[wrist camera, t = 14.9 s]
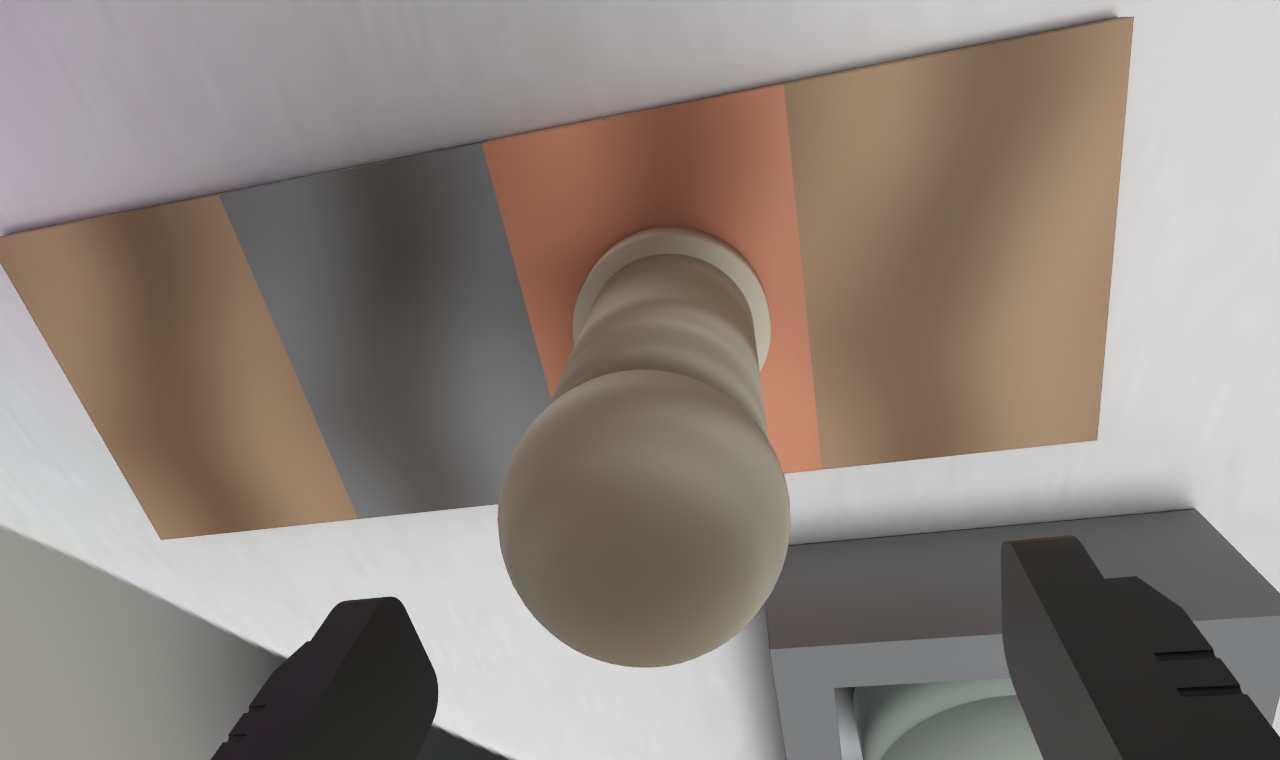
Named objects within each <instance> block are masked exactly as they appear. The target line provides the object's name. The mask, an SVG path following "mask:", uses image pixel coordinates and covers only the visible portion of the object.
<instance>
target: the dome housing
mask: <svg viewBox="0 0 1280 760" xmlns="http://www.w3.org/2000/svg"><path fill="white" fill-rule="evenodd" d="M1064 535H1073V536H1075V537H1076V538H1077V539H1078V540H1079V541H1080V542H1081V544H1082V545H1083V546H1084V548H1085V550H1086V551H1087V553H1088V554H1089V556H1090V557H1091V559H1092V560H1093V562H1094V563H1095V565H1096V566H1097V568H1098V569H1099V571H1100V573H1101V574H1102V576H1103V577H1104V579H1106V578H1119V577H1131V576H1137V577H1138V578H1140V579H1141V580H1143V581H1144V582H1146V583H1147V584H1148V585H1150V586H1151V587H1153V588H1154V589H1156V590H1157V591H1159V592H1160V593H1161V594H1163V595H1164V596H1166V597H1167V598H1169V599H1170V600H1171V601H1173V602H1174V603H1176V604H1177V605H1179V606H1180V607H1182V608H1183V609H1184V611H1185V612H1186V613H1187V615H1188V616H1189V617H1190V619H1191V620H1192V621H1193V623H1194V624H1195V625H1196V627H1197V628H1198V629H1199V631H1200V632H1201V633H1202V635H1203V636H1204V637H1205V639H1206V640H1207V641H1208V643H1209V644H1210V645H1211V647H1212V648H1213V649H1214V654H1215V656H1216V658H1220V659H1221V660H1222V661H1223V663H1224V664H1225V665H1226V667H1227V668H1228V669H1229V671H1230V672H1231V673H1232V674H1233V676H1234V677H1235V678H1236V680H1237V681H1238V682H1239V684H1240V688H1241V691H1242V693H1243V694H1248V696H1249V697H1250V698H1251V700H1252V701H1253V702H1254V704H1255V705H1256V706H1257V708H1258V709H1259V710H1260V712H1261V713H1262V714H1263V716H1264V717H1265V718H1266V720H1267V721H1268V722H1269V724H1270V725H1271V726H1272V724H1273V720H1274V716H1275V712H1276V708H1277V704H1278V701H1279V697H1280V593H1279V592H1278V591H1277V590H1276V589H1275V588H1274V587H1273V586H1272V585H1271V584H1270V583H1269V582H1268V581H1267V580H1266V579H1265V578H1264V577H1263V576H1262V575H1261V574H1260V573H1259V572H1258V571H1257V570H1256V569H1255V568H1254V567H1253V566H1252V565H1251V564H1250V563H1249V562H1248V561H1247V560H1246V559H1245V558H1244V557H1243V556H1242V555H1241V554H1240V553H1239V552H1238V551H1237V550H1236V549H1235V548H1234V547H1233V546H1232V545H1231V544H1230V543H1229V542H1228V541H1227V540H1226V539H1225V538H1224V537H1223V536H1222V535H1221V534H1220V533H1219V532H1218V531H1217V530H1216V529H1215V528H1214V527H1213V526H1212V525H1211V524H1210V523H1209V522H1208V521H1207V520H1206V519H1205V518H1204V517H1203V516H1202V515H1201V514H1200V513H1199V512H1198V511H1197V510H1196V509H1193V510H1182V511H1171V512H1160V513H1149V514H1138V515H1127V516H1116V517H1104V518H1093V519H1082V520H1071V521H1060V522H1049V523H1038V524H1027V525H1016V526H1004V527H993V528H982V529H971V530H960V531H949V532H938V533H927V534H916V535H904V536H893V537H882V538H871V539H860V540H849V541H838V542H827V543H815V544H804V545H793V546H788V548H787V554H786V557H785V561H784V564H783V567H782V570H781V573H780V575H779V577H778V580H777V582H776V584H775V586H774V588H773V590H772V592H771V594H770V596H769V597H768V599H767V600H766V601H765V602H766V614H767V626H768V637H769V649H770V656H771V662H772V669H773V675H774V681H775V688H776V694H777V701H778V707H779V714H780V720H781V727H782V733H783V740H784V746H785V753H786V759H787V760H842V757H841V747H840V738H839V729H838V720H837V710H836V701H835V692H834V688H842V687H860V686H877V685H895V684H912V683H930V682H947V681H965V680H983V679H1000V678H1011V677H1010V674H1009V670H1008V666H1007V662H1006V658H1005V653H1004V646H1003V638H1002V598H1001V547H1002V543H1003V542H1004V541H1010V540H1021V539H1031V538H1042V537H1053V536H1064Z"/></svg>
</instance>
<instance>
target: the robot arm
mask: <svg viewBox="0 0 1280 760" xmlns="http://www.w3.org/2000/svg"><path fill="white" fill-rule="evenodd" d="M1001 598H1002V638H1003V646H1004V653H1005V658H1006V662H1007V666H1008V670H1009V674H1010V677H1011V681H1012V684H1013V687H1014V689H1015V692H1016V694H1017V697H1018V699H1019V702H1020V704H1021V706H1022V709H1023V711H1024V714H1025V716H1026V719H1027V721H1028V724H1029V726H1030V728H1031V731H1032V733H1033V736H1034V738H1035V741H1036V743H1037V745H1038V748H1039V750H1040V753H1041V755H1042V758H1043V760H1280V737H1279V736H1278V734H1277V733H1276V732H1275V730H1274V729H1273V728H1272V726H1271V725H1270V724H1269V722H1268V721H1267V720H1266V718H1265V717H1264V716H1263V714H1262V713H1261V712H1260V710H1259V709H1258V708H1257V706H1256V705H1255V704H1254V702H1253V701H1252V700H1251V698H1250V697H1249V696H1248V694H1243V693H1242V691H1241V688H1240V684H1239V682H1238V681H1237V680H1236V678H1235V677H1234V676H1233V674H1232V673H1231V672H1230V671H1229V669H1228V668H1227V667H1226V665H1225V664H1224V663H1223V661H1222V660H1221V659H1220V658H1216V656H1215V654H1214V649H1213V648H1212V647H1211V645H1210V644H1209V643H1208V641H1207V640H1206V639H1205V637H1204V636H1203V635H1202V633H1201V632H1200V631H1199V629H1198V628H1197V627H1196V625H1195V624H1194V623H1193V621H1192V620H1191V619H1190V617H1189V616H1188V615H1187V613H1186V612H1185V611H1184V609H1183V608H1182V607H1180V606H1179V605H1177V604H1176V603H1174V602H1173V601H1171V600H1170V599H1169V598H1167V597H1166V596H1164V595H1163V594H1161V593H1160V592H1159V591H1157V590H1156V589H1154V588H1153V587H1151V586H1150V585H1148V584H1147V583H1146V582H1144V581H1143V580H1141V579H1140V578H1138V577H1137V576H1131V577H1119V578H1106V579H1104V577H1103V576H1102V574H1101V573H1100V571H1099V569H1098V568H1097V566H1096V565H1095V563H1094V562H1093V560H1092V559H1091V557H1090V556H1089V554H1088V553H1087V551H1086V550H1085V548H1084V546H1083V545H1082V544H1081V542H1080V541H1079V540H1078V539H1077V538H1076V537H1075V536H1073V535H1064V536H1053V537H1042V538H1031V539H1021V540H1010V541H1004V542H1003V543H1002V547H1001ZM437 703H438V683H437V677H436V674H435V671H434V669H433V667H432V664H431V662H430V660H429V658H428V656H427V654H426V652H425V650H424V647H423V645H422V643H421V641H420V639H419V637H418V635H417V633H416V630H415V628H414V626H413V624H412V622H411V620H410V618H409V616H408V613H407V611H406V609H405V607H404V605H403V604H402V603H401V601H400V600H398V599H397V598H395V597H381V598H371V599H360V600H349V601H343V602H341V603H339V604H337V605H336V606H335V607H334V608H333V609H332V611H331V612H330V613H329V615H328V616H327V618H326V619H325V621H324V622H323V624H322V625H321V627H320V628H319V630H318V631H317V632H316V634H315V635H314V637H313V638H312V640H311V641H308V642H306V643H305V644H304V645H302V646H301V647H300V648H299V649H298V650H297V651H296V652H295V653H294V654H292V655H291V656H290V657H289V658H288V659H287V660H286V661H285V662H284V663H283V664H281V665H280V666H279V667H278V668H277V669H276V670H275V671H274V672H273V673H272V674H271V676H270V677H269V679H268V680H267V681H266V683H265V684H264V686H263V687H262V688H261V690H260V691H259V693H258V694H257V695H256V697H255V698H254V700H253V701H252V702H251V704H250V705H249V712H248V713H244V714H243V715H242V716H241V718H240V719H239V721H238V722H237V723H236V725H235V726H234V728H233V729H232V731H231V732H230V733H229V740H228V742H223V743H222V745H221V746H220V747H219V749H218V750H217V752H216V753H215V754H214V756H213V757H212V759H211V760H416V759H417V756H418V754H419V752H420V750H421V747H422V745H423V743H424V740H425V738H426V736H427V733H428V731H429V729H430V727H431V724H432V722H433V719H434V717H435V713H436V709H437Z"/></svg>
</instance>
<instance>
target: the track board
mask: <svg viewBox="0 0 1280 760" xmlns="http://www.w3.org/2000/svg"><path fill="white" fill-rule="evenodd" d="M1133 21H1134V17H1118V18H1113V19H1107V20H1102V21H1097V22H1092V23H1087V24H1082V25H1077V26H1072V27H1066V28H1061V29H1056V30H1051V31H1046V32H1041V33H1036V34H1031V35H1026V36H1020V37H1015V38H1010V39H1005V40H1000V41H995V42H990V43H985V44H979V45H974V46H969V47H964V48H959V49H954V50H949V51H944V52H939V53H933V54H928V55H923V56H918V57H913V58H908V59H903V60H898V61H892V62H887V63H882V64H877V65H872V66H867V67H862V68H857V69H852V70H846V71H841V72H836V73H831V74H826V75H821V76H816V77H811V78H805V79H800V80H795V81H790V82H785V83H780V84H775V85H770V86H765V87H759V88H754V89H749V90H744V91H739V92H734V93H729V94H724V95H718V96H713V97H708V98H703V99H698V100H693V101H688V102H683V103H678V104H672V105H667V106H662V107H657V108H652V109H647V110H642V111H637V112H631V113H626V114H621V115H616V116H611V117H606V118H601V119H596V120H590V121H585V122H580V123H575V124H570V125H565V126H560V127H555V128H550V129H544V130H539V131H534V132H529V133H524V134H519V135H514V136H509V137H503V138H498V139H493V140H488V141H483V142H478V143H473V144H468V145H463V146H457V147H452V148H447V149H442V150H437V151H432V152H427V153H422V154H416V155H411V156H406V157H401V158H396V159H391V160H386V161H381V162H376V163H370V164H365V165H360V166H355V167H350V168H345V169H340V170H335V171H329V172H324V173H319V174H314V175H309V176H304V177H299V178H294V179H289V180H283V181H278V182H273V183H268V184H263V185H258V186H253V187H248V188H242V189H237V190H232V191H227V192H222V193H217V194H212V195H207V196H202V197H196V198H191V199H186V200H181V201H176V202H171V203H166V204H161V205H155V206H150V207H145V208H140V209H135V210H130V211H125V212H120V213H115V214H109V215H104V216H99V217H94V218H89V219H84V220H79V221H74V222H68V223H63V224H58V225H53V226H48V227H43V228H38V229H33V230H28V231H22V232H17V233H12V234H7V235H4V236H0V263H1V265H2V266H3V268H4V270H5V272H6V273H7V275H8V277H9V279H10V280H11V282H12V284H13V285H14V287H15V289H16V291H17V292H18V294H19V296H20V297H21V299H22V301H23V303H24V304H25V306H26V308H27V310H28V311H29V313H30V315H31V316H32V318H33V320H34V322H35V323H36V325H37V327H38V329H39V330H40V332H41V334H42V335H43V337H44V339H45V341H46V342H47V344H48V346H49V347H50V349H51V351H52V353H53V354H54V356H55V358H56V360H57V361H58V363H59V365H60V366H61V368H62V370H63V372H64V373H65V375H66V377H67V379H68V380H69V382H70V384H71V385H72V387H73V389H74V391H75V392H76V394H77V396H78V398H79V399H80V401H81V403H82V404H83V406H84V408H85V410H86V411H87V413H88V415H89V416H90V418H91V420H92V422H93V423H94V425H95V427H96V429H97V430H98V432H99V434H100V435H101V437H102V439H103V441H104V442H105V444H106V446H107V448H108V449H109V451H110V453H111V454H112V456H113V458H114V460H115V461H116V463H117V465H118V467H119V468H120V470H121V472H122V473H123V475H124V477H125V479H126V480H127V482H128V484H129V485H130V487H131V489H132V491H133V492H134V494H135V496H136V498H137V499H138V501H139V503H140V504H141V506H142V508H143V510H144V511H145V513H146V515H147V517H148V518H149V520H150V522H151V523H152V525H153V527H154V529H155V530H156V532H157V534H158V536H159V537H160V539H161V540H165V539H174V538H184V537H193V536H203V535H212V534H221V533H231V532H240V531H250V530H259V529H268V528H278V527H287V526H296V525H306V524H315V523H325V522H334V521H343V520H353V519H362V518H372V517H381V516H390V515H400V514H409V513H419V512H428V511H437V510H447V509H456V508H465V507H475V506H484V505H494V504H499V496H500V490H501V486H502V481H503V477H504V474H505V471H506V468H507V466H508V463H509V461H510V458H511V456H512V453H513V451H514V449H515V448H516V446H517V444H518V443H519V441H520V439H521V438H522V436H523V435H524V433H525V431H526V430H527V428H528V427H529V426H530V425H531V424H532V422H533V421H534V420H535V419H536V418H537V416H538V415H539V414H540V413H542V412H543V411H544V410H545V409H546V408H547V407H548V405H549V403H550V400H551V398H552V396H553V394H554V391H555V389H556V387H557V385H558V382H559V380H560V378H561V376H562V373H563V371H564V369H565V367H566V364H567V362H568V360H569V358H570V355H571V353H572V351H573V349H574V346H575V345H574V339H573V315H574V309H575V305H576V301H577V299H578V296H579V294H580V291H581V289H582V287H583V285H584V283H585V281H586V279H587V277H588V275H589V274H590V272H591V270H592V268H593V267H594V265H595V264H596V263H597V261H598V260H599V259H600V258H601V256H602V255H603V254H604V253H605V252H607V251H608V250H609V249H610V248H611V247H612V246H614V245H615V244H616V243H618V242H619V241H620V240H622V239H624V238H626V237H628V236H630V235H632V234H634V233H637V232H640V231H642V230H646V229H650V228H654V227H662V226H684V227H690V228H696V229H699V230H702V231H706V232H708V233H711V234H713V235H715V236H717V237H719V238H721V239H723V240H724V241H726V242H728V243H729V244H731V245H732V246H733V247H734V248H736V249H737V250H738V251H739V252H740V253H741V254H742V255H743V256H744V257H745V258H746V259H747V260H748V261H749V263H750V264H751V266H752V267H753V268H754V270H755V271H756V273H757V275H758V277H759V279H760V281H761V283H762V286H763V289H764V292H765V295H766V300H767V305H768V311H769V316H770V324H771V337H770V346H769V350H768V354H767V357H766V360H765V362H764V365H763V368H762V369H761V371H760V379H761V387H762V395H763V403H764V411H765V419H766V427H767V435H768V441H769V442H770V444H771V446H772V448H773V450H774V451H775V453H776V455H777V457H778V460H779V462H780V465H781V468H782V470H783V473H784V474H785V473H794V472H803V471H813V470H822V469H832V468H841V467H850V466H860V465H869V464H879V463H888V462H897V461H907V460H916V459H925V458H935V457H944V456H954V455H963V454H972V453H982V452H991V451H1001V450H1010V449H1019V448H1029V447H1038V446H1047V445H1057V444H1066V443H1076V442H1085V441H1094V440H1097V436H1098V424H1099V413H1100V401H1101V390H1102V378H1103V367H1104V355H1105V344H1106V332H1107V320H1108V309H1109V297H1110V286H1111V274H1112V263H1113V251H1114V240H1115V228H1116V217H1117V205H1118V194H1119V182H1120V171H1121V159H1122V147H1123V136H1124V124H1125V113H1126V101H1127V90H1128V78H1129V67H1130V55H1131V44H1132V32H1133Z"/></svg>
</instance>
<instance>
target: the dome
mask: <svg viewBox="0 0 1280 760" xmlns="http://www.w3.org/2000/svg"><path fill="white" fill-rule="evenodd" d="M853 710H854V716H855V721H856V726H857V731H858V736H859V741H860V746H861V751H862V756H863V760H1043V758H1042V755H1041V753H1040V750H1039V748H1038V745H1037V743H1036V741H1035V738H1034V736H1033V733H1032V731H1031V728H1030V726H1029V724H1028V721H1027V719H1026V716H1025V714H1024V711H1023V709H1022V706H1021V704H1020V702H1019V699H1018V697H1017V694H1016V692H1015V689H1014V687H1013V684H1012V681H1011V678H1000V679H983V680H965V681H947V682H930V683H912V684H895V685H877V686H860V687H855V690H854V695H853Z"/></svg>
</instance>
